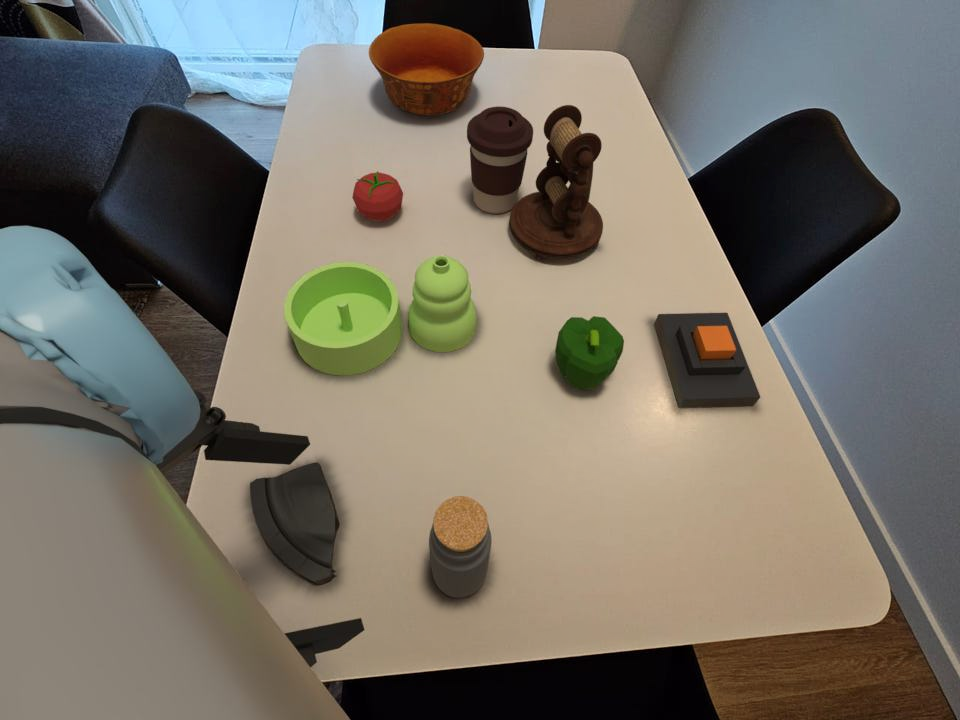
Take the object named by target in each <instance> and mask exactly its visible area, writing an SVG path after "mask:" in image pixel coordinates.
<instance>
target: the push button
mask: <svg viewBox="0 0 960 720" xmlns="http://www.w3.org/2000/svg"><path fill="white" fill-rule="evenodd" d="M697 326H727V327H728V330H729V332H730V335H731V337H732V340H733V343H734V345H735V348H736V352H735V353H734V354H733V356H732V357H731V359H721V360H700V357H699V354H698V351H697V348H696V345H695V342H694V339H693V336H692V335H693V334H694V332H695V330H696V328H697ZM654 328H655V332H656V335H657V338H658V342H659V345H660V349H661V353H662V355H663V359H664V362H665V365H666V369H667V372H668V376H669V379H670V382H671V387H672V390H673V392H674V396H675V400H676V403H677V407H678V409H687V408H688V409H691V408H722V407H724V408H725V407H727V408H728V407H754V406H755V404H756V403H757V402H758V401H759V400H760V399H761V394H760V391H759V389H758V387H757V384H756V382H755V379H754V377H753V374H752V371H751V369H750V366H749V364H748V361H747V359H746V356H745V354H744V351H743V349H742V346H741V344H740V342H739V338H738V336H737V333H736V331H735V329H734V326H733V323H732V320H731V317H730V316H729V313H728V312H694V313H693V312H690V313H689V312H686V313H685V312H684V313H658V314H657V316H656V318H655V321H654Z"/></svg>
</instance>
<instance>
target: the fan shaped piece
mask: <svg viewBox="0 0 960 720" xmlns="http://www.w3.org/2000/svg"><path fill="white" fill-rule="evenodd" d="M249 494H250V504H251V509H252V513H253V517H254V520H255V523H256V525H257V528H258V531H259V532H260V534H261V536H262V538H263V539H264V541H265V542H266V544H267V545H268V546H269V548H270V549H271V550H272V551H273V552H274V553H275V555H276V556H277V557H278V558H279V559H280V561H281V562H283V563H284V564H285V565H286V566H287V567H289V568H290V569H291V570H292V571H293V572H295V573H296V574H298V575H300V576H301V577H303V578H304V579H307V580H309V581H311V582H313V583H315V584H317V585H323V584H327V583H329V582H332V581H333V579H334V578H333V575H334V574H335V573H336V572H337V570H334V569H333V555H334V554H333V552H334V545H335V541H336V537H337V532H338V530H339V528H340V520H339V517H338V513H337V509H336V505H335V502H334V499H333V496H332V492H331V489H330V487H329V484H328V481H327V480H326V477H325V474H324V471H323V468H322V466H321V464H320V462H318V461H317V462H311V463H307V464H305V465H304V464H303V465H301V466H298V467H294V468H293V469H290V470H289V471H286V472H283V473H282V474H279V475H276V476H272V477H260V478H256V479H254V480H252V481H250V482H249Z"/></svg>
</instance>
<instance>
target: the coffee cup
mask: <svg viewBox="0 0 960 720" xmlns="http://www.w3.org/2000/svg"><path fill="white" fill-rule="evenodd" d="M533 138H534V128H533V124H532V123H531V122H530V121H529V120H528V119H527V118H526V117H525V116H523V115H522V114H521V113H520V112H519V111H518V110H516V109H514V108H511V107H508V106H499V105H498V106H491V107H487V108H485V109H483V110H482V111H481V112H479V113H478V114H475V115H474V116H473V117H472V118H471V119H470V120H469V121H468V123H467V126H466V139H467V141H468V144H469V145H470V148H469V157H470V159H469V160H470V178H471V179H470V180H471V183H472V191H473V192H472V193H473V201H474V203H475V205H476V206H477V208H479V209H480V210H481V211H483V212H486V213H489V214H494V215H495V214H504V213H507V212H509V211H511V210H512V208H513V207H514V205H515V204H516V203H517V202H518V196H519V192H520V188H521V185H522V183H523V179H524V173H525V167H526V162H527V158H528V149H529V148H530V147H531V145H532V143H533V140H534V139H533Z"/></svg>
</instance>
